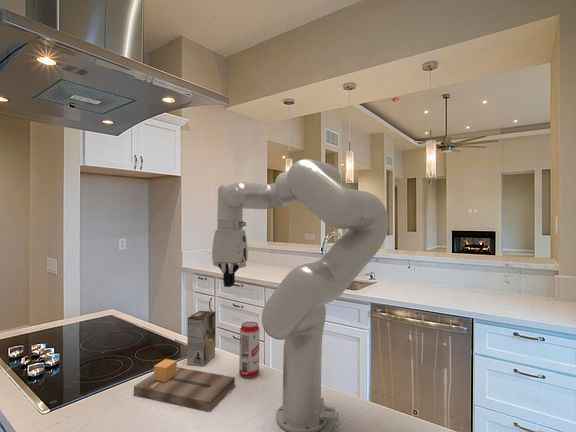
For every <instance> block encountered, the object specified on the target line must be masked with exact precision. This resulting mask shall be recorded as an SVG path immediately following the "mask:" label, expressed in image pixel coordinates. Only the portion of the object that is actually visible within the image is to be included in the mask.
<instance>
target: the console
mask: <svg viewBox="0 0 576 432" xmlns="http://www.w3.org/2000/svg"><path fill="white" fill-rule="evenodd" d="M235 382H236V377H235V376H230V375H223V374H219V373H214V372H213V373H212V372H207V371H201V370H195V369H190V368H185V367H178V366H177V374H176V375H175V376H173V377H172V378H171V379H169V380H168V381H166V382H162V381H157V380H154V373H153V374H151V375H149V376H148V377H146V378H145V379H143V380H142V381H141V380H140V381H139V382H138V383H136V384H135V385H134V386H133V396H136V397H141V398H146V399H147V400H149V399H150V400H153V401H159V402H162V403H168V404H172V405H176V406H181V407H186V408H188V409H189V408H190V409H194V410H198V411H204V412H208V413H210V412H211V411H212V410H213V409H214V408H215V407H216V406H217V405H218V404H219V403H220V402H221V401H222V400H223V399H224V398H225V397H226V395H227V394H228V393H230V391H231V390H232V389H233V388H234V387H235V386H236V384H235Z"/></svg>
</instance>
